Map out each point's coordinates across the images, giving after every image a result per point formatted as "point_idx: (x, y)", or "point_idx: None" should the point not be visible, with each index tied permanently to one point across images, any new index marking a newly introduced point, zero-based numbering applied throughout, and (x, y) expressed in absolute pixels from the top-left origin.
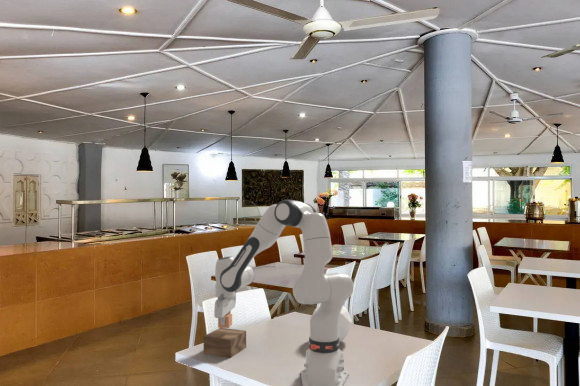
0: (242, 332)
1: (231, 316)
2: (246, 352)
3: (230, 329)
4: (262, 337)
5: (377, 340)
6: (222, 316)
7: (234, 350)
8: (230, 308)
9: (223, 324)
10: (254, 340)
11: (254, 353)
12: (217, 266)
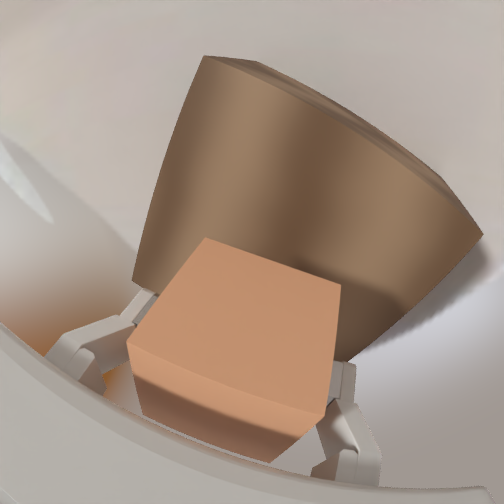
0: (262, 90)
1: (176, 330)
2: (361, 61)
3: (164, 213)
4: (89, 5)
5: None
6: (489, 500)
7: (411, 156)
8: (88, 439)
9: (351, 372)
10: (128, 32)
11: (386, 12)
12: None
